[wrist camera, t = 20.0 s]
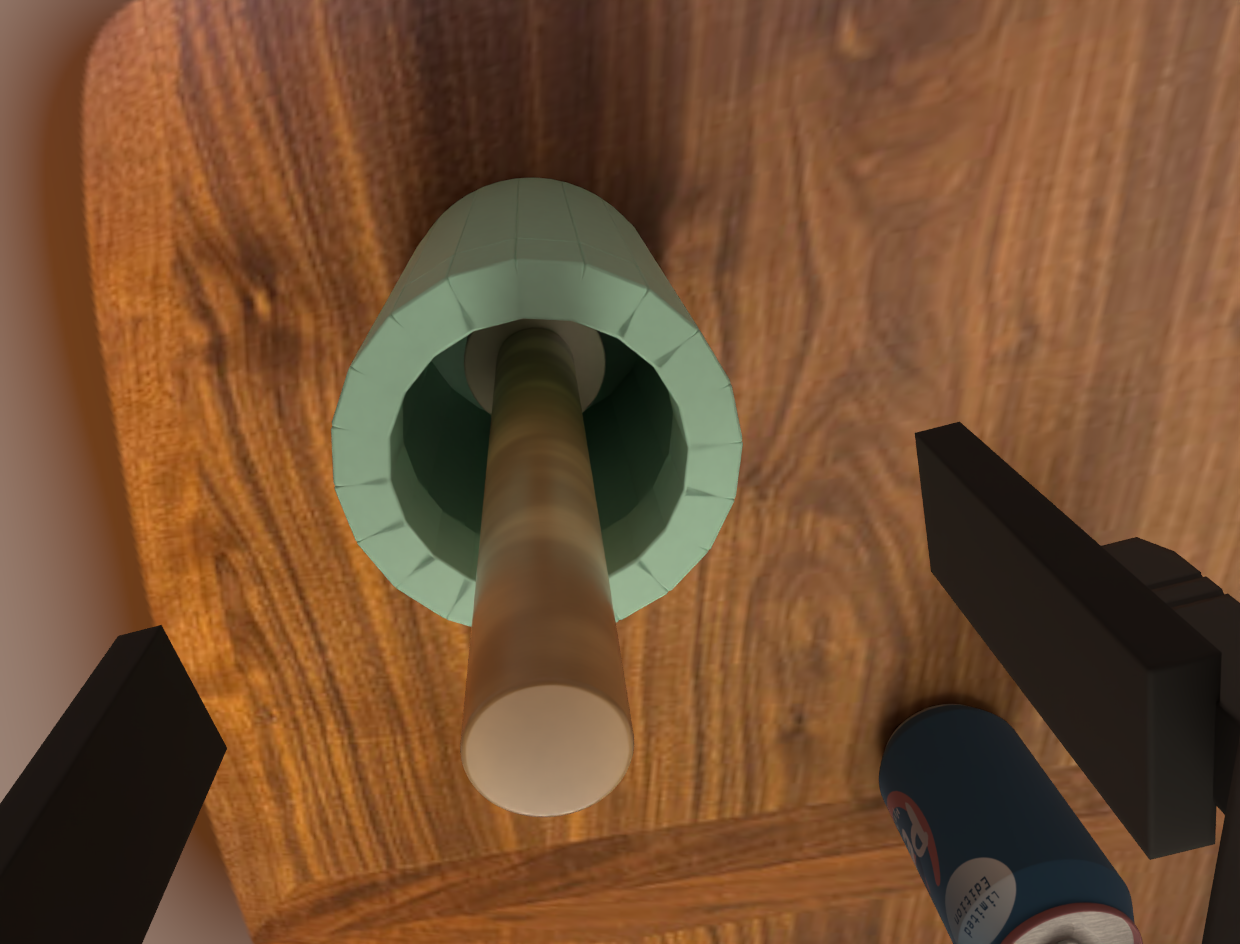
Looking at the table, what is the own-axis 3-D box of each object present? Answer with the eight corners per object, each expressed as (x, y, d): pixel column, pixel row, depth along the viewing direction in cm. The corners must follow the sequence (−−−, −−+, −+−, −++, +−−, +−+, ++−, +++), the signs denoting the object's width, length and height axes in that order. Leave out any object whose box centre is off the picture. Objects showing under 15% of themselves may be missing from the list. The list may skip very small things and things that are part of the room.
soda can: (841, 754, 46) (941, 974, 35) (957, 665, 44) (1099, 867, 33) (923, 828, 48) (1041, 1056, 37) (1035, 746, 47) (1193, 959, 36)
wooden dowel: (576, 242, 34) (668, 579, 12) (606, 357, 36) (733, 829, 14) (457, 273, 34) (337, 664, 12) (493, 386, 36) (443, 903, 14)
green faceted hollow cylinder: (627, 147, 34) (696, 210, 20) (682, 390, 38) (772, 583, 24) (370, 215, 34) (265, 324, 20) (452, 450, 38) (410, 676, 24)
